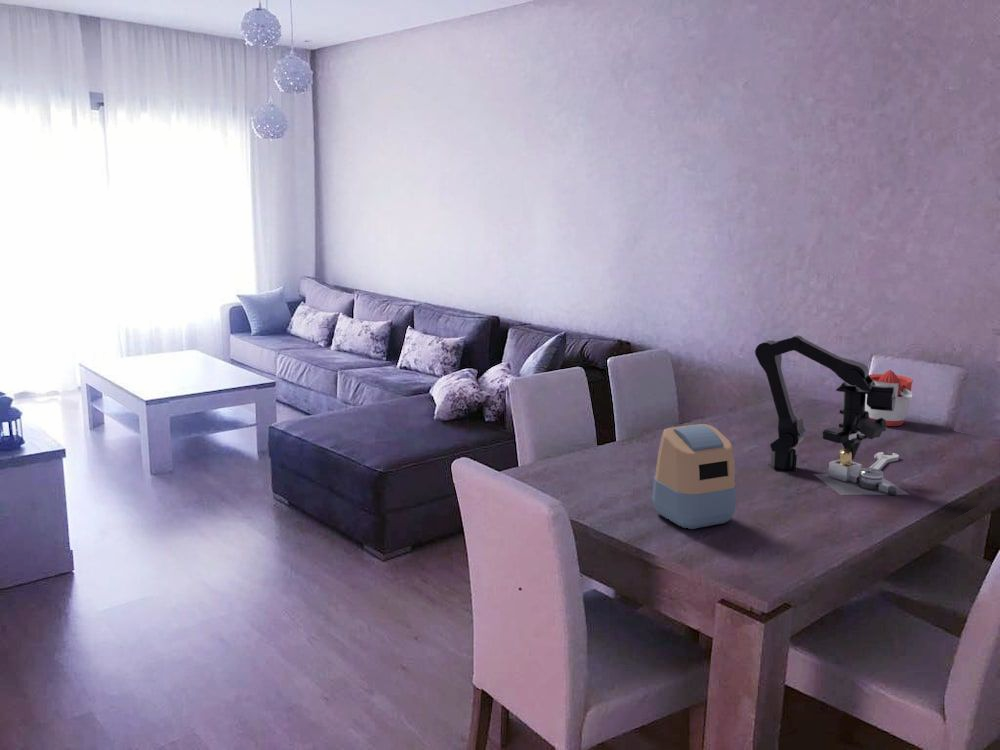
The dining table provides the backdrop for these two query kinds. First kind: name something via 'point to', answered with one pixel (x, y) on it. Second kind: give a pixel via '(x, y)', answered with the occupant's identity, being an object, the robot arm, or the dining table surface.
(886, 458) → the adjustable wrench
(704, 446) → the alarm clock
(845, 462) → the brass rounded cylinder
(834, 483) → the mat
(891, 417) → the citrus juicer
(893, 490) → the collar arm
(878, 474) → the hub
